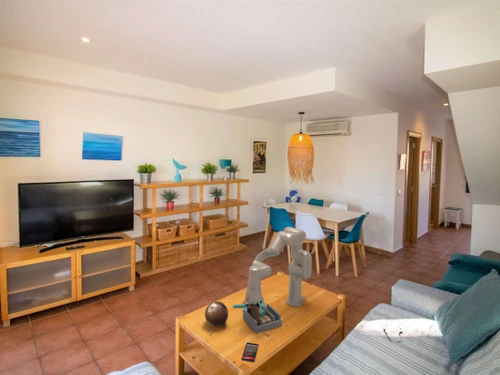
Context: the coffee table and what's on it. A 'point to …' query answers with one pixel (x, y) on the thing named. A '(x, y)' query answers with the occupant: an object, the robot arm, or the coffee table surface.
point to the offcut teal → (262, 312)
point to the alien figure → (246, 307)
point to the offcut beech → (265, 319)
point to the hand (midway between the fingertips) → (253, 311)
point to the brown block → (255, 312)
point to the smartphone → (250, 352)
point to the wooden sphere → (216, 314)
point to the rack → (262, 327)
